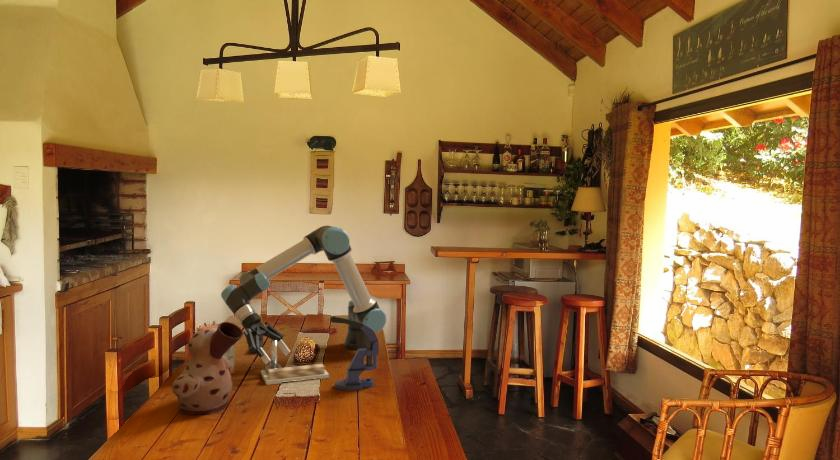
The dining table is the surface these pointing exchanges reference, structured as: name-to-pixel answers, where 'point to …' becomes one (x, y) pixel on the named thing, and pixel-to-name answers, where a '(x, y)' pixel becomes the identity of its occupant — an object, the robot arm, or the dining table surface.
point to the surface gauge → (273, 357)
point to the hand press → (359, 359)
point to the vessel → (207, 371)
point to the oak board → (296, 371)
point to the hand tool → (259, 343)
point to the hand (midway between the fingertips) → (278, 357)
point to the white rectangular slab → (278, 381)
